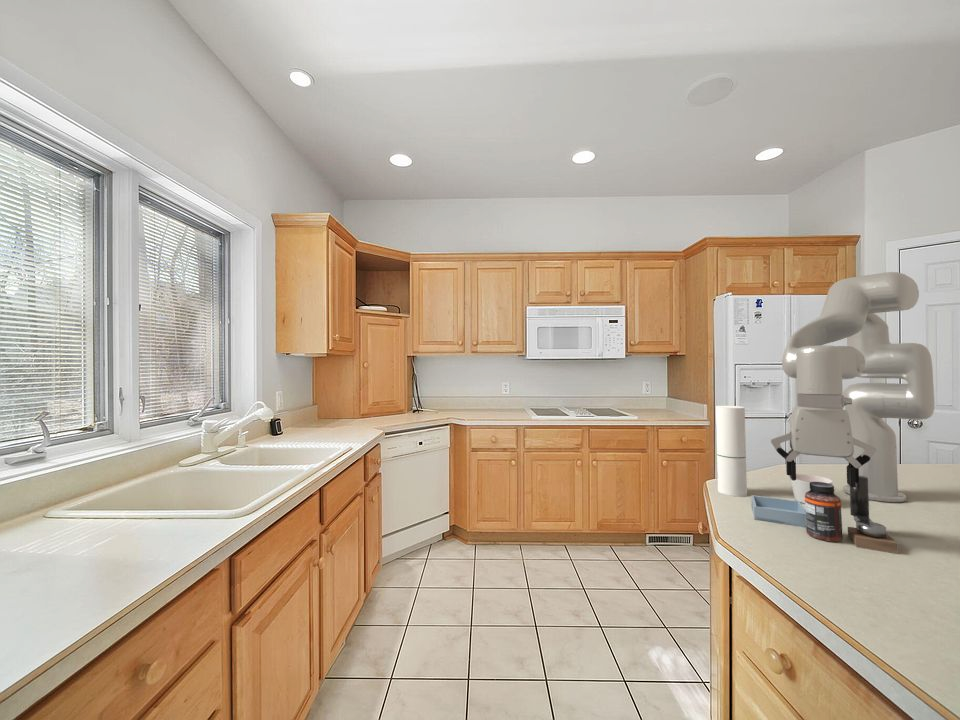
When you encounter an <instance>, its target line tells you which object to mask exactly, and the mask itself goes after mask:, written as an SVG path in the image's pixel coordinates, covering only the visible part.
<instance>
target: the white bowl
mask: <svg viewBox="0 0 960 720" xmlns="http://www.w3.org/2000/svg"><path fill="white" fill-rule="evenodd" d="M788 477H789V480H790V484H791V488H792V493H793V498H794V499H795V500H794V501H800V503H801V504H804V505H805V493H806V492H808V491H810V490H811V489H810V482H824V483H829V484H832V485H833V483H834V481H833V480H832V479H830V478H828V477H824V476H819V475H814V474H803V473H796V480H795V481H794V480H791V478H790V475H788Z"/></svg>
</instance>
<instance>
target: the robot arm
mask: <svg viewBox="0 0 960 720" xmlns="http://www.w3.org/2000/svg"><path fill="white" fill-rule="evenodd" d="M919 291H920V290H919V287H918V284H917V282H916V281H915V280H914V279H913V278H912V277H910V276H908V275H907V274H905V273H901V272H897V271H887V272H881V273H874V274H867V275H860V276H859V275H858V276H853V277H847V278H843V279H840V280H838V281H836V282H835V283H833V284H832V285H831V286H830V287H829V289H828V291H827V295H826V297H825V301H824V303H823V306H822V310H821V313H820V316H818V317H816V318H814V319H813V320H811V321H809V322H808V323H806V324H805V325H803V326H802V327H800V328H799V329H797V330H796V331H795V332H794V333H792V335H791V336H790V337H789V339H788V340H787V344H786V346H785V349H784V352H783V355H782V359H781V361H782V362H781V366H782V370H783V372H784V374H785V375H786V376H787V377H790V378H792V379H796V402H797V405H796V406H797V407H792V410H791V414H790V415H791V416H790V423H789V432H788V433H785V434H783V435H780V436H777V437H774V438H771V439H770V443H771V444H772V446H773V447H774V449H775V451H776V452H777V453H778V454H779V455H780V456H781V457H782V458H783V459H785V461H786V463H785V464H786V465H785V468H786V469H785V470H786V475H787V476H790V477H789V479H790V478H791V480H794V481H795V480H796V474H797V463H796V462H795V459H796V458H797V457H799V456H800V455H804V456H805V455H806V456H818V457H829V458H839V459H840V458H843V459H845V461H846V462H847V463H848V464H847V465H846V483H847V485H844V486H843V492H845V494H848V495H850V486H851V487H855V488H856V483H859V476H864V477H867V478H868V494H869V501H870V500H871V501H876V502H877V501H878V502H885V503H886V502H887V503H903V502H906V501H907V497H908V496H907V495H906V494H904V493H902V492H900V491H899V479H898V458H897V457H898V455H897V436H896V433H895V431H894V430H893V428H892V427H891V426H890V425H889V424H888V423H887V422H885V421H884V420H883V419H897V420H898V419H900V420H901V419H902V420H914V421H915V420H918V421H919V420H927V419H929V418H932V416H933V414H934V413H935V392H934V391H935V389H934V375H933V374H934V370H933V361H932V355H931V352H930V351H929V348H927V347H926V346H925V345H923V344H920V343H917V342H905V343H904V342H903V343H901V342H900V343H891V342H890V334H889V325H888V324H887V322H886V321H884V319H882V318H881V317H880V316H879V315H877V314H878V313H881V314H882V313H887V312H888V313H889V312H890V313H891V312H903V311H909V310H911V309H913V308H914V307H915V306H916V305H917V303H918V300H919V297H920V292H919ZM844 339H846V345H836V346H835V345H827V344H831V343H834V342H837V341H841V340H844ZM855 378H862V379H863V378H864V379H896V380H897V379H900V380H901V379H902V380H904V381H906V382H907V383H889V382H859V383H857V382H856V383H853V384H851V385H848V386H847V387H846V388H844V389H843V380H851V379H855ZM843 390H844V391H843ZM844 408H845V409H844ZM787 441H788V442H789V447H790V450H789V451H788V452H787V451H786V450H784V449H783V448H782V446H781V444H782V443H785V442H787Z"/></svg>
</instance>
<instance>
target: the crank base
mask: <svg viewBox="0 0 960 720" xmlns="http://www.w3.org/2000/svg"><path fill="white" fill-rule="evenodd" d="M886 534H887V536H886V537H874V536H869V535H865V534H862V533H860V532H858V531H857V530H856V527H853V526H847V536H848V538H849V540H850V541H851V542H852V543H853V545H854V544H855V545H854V546H855V547H856V548H860V547H862V549H866V548H867V550H872V551H879V552H886V553H892V554H897V555H898V554H899V553H898V549H899V548H898V542H897V541H896V540H894V538H893V537H892V536H890V534H889V533H888V532H886Z"/></svg>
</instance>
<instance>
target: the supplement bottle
mask: <svg viewBox="0 0 960 720" xmlns="http://www.w3.org/2000/svg"><path fill="white" fill-rule="evenodd" d="M810 489H811V490H810V491H808V492H806V493H805V504H804V509H805V515H806V527H805V530H806V534H807V535H809V536H810V537H812V538H814V539H816V540H817V539H818V540H820V541H825V542H832V543H833V542H840V541H842V540H843V518H842V502H841V498H840V497H839V496H838V495H837V494H835V486H834V485H833V484H829V483H824V482H810Z"/></svg>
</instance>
